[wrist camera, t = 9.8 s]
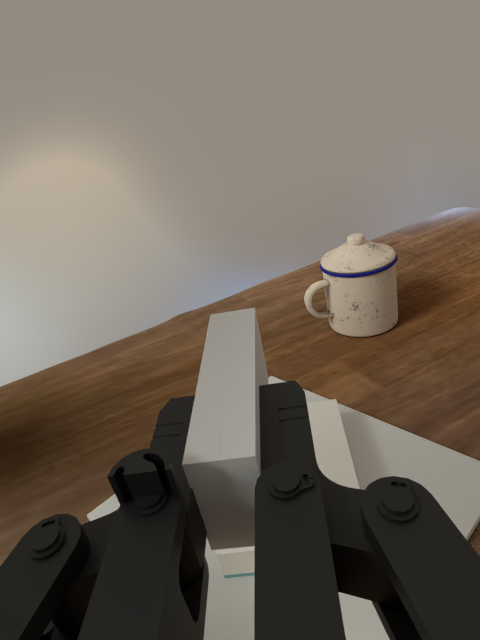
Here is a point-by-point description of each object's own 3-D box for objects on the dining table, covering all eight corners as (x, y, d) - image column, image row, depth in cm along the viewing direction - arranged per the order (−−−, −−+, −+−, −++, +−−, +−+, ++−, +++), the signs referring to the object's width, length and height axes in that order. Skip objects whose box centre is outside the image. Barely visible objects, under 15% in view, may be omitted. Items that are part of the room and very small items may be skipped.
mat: (88, 520, 37) (86, 515, 37) (272, 380, 50) (271, 375, 50) (312, 797, 20) (310, 791, 20) (505, 477, 33) (506, 472, 32)
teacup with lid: (374, 299, 62) (368, 218, 57) (415, 324, 54) (413, 232, 49) (296, 325, 60) (283, 244, 55) (328, 355, 52) (315, 263, 47)
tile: (372, 537, 27) (335, 399, 40) (216, 554, 29) (227, 414, 41) (375, 563, 28) (338, 420, 41) (224, 578, 30) (233, 434, 42)
